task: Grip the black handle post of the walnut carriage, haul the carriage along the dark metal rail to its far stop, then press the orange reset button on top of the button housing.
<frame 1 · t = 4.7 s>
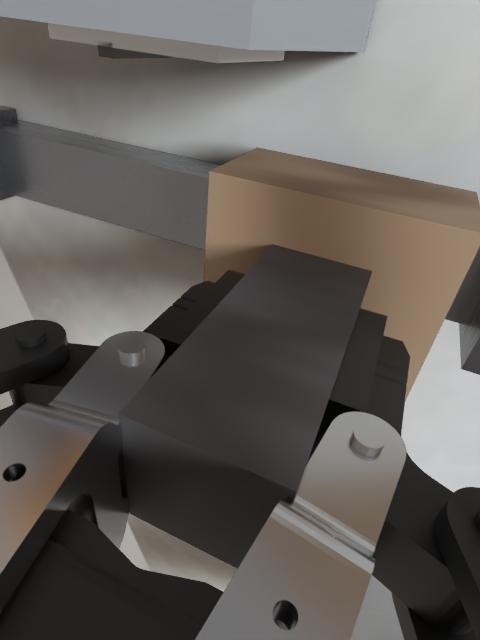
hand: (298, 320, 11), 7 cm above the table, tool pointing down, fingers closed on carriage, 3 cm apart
rail: (214, 198, 18), on the table
carriage: (300, 318, 11), point 7 cm above the table, slide at 0.0 cm, touching gripper
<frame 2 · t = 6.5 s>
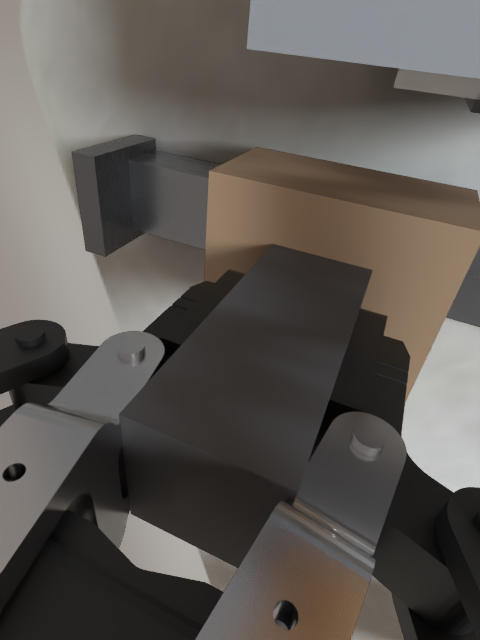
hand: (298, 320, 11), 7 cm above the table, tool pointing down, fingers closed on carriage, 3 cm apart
rail: (398, 243, 16), on the table
carriage: (301, 317, 11), point 7 cm above the table, slide at 8.0 cm, touching gripper
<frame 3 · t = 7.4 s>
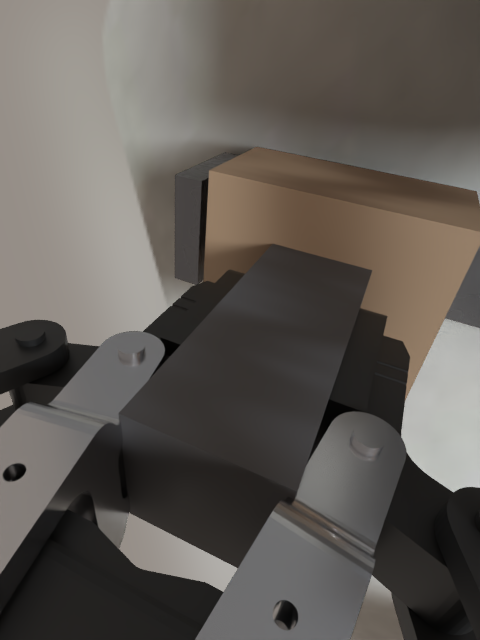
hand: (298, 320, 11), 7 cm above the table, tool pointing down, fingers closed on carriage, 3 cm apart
carriage: (300, 317, 11), point 7 cm above the table, slide at 12.3 cm, touching gripper
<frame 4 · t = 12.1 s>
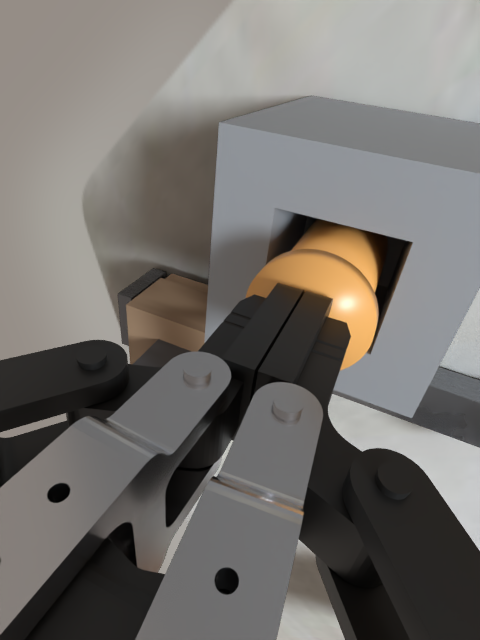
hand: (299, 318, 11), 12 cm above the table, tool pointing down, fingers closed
button housing: (371, 198, 20), on the table
rail: (311, 345, 26), on the table
carriage: (169, 376, 23), point 7 cm above the table, slide at 12.4 cm
reset button: (329, 277, 13), point 9 cm above the table, slide at 0.3 cm, touching gripper
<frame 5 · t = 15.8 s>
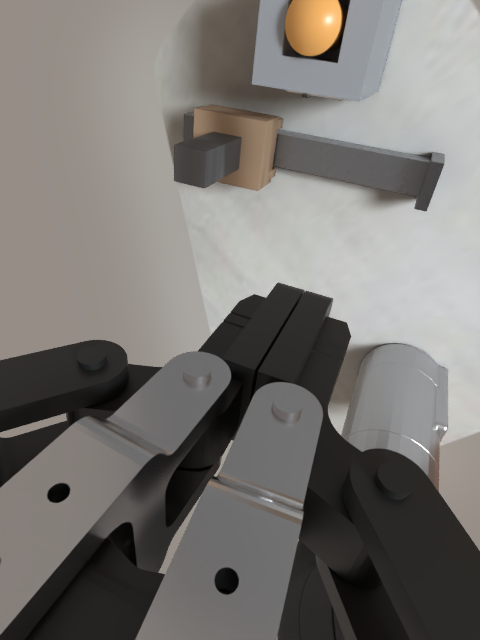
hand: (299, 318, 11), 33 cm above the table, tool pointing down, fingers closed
button housing: (344, 30, 34), on the table
rail: (309, 152, 40), on the table
carriage: (221, 152, 37), point 7 cm above the table, slide at 12.4 cm
reset button: (322, 24, 28), point 8 cm above the table, slide at 1.7 cm
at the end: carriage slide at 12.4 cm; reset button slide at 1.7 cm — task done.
